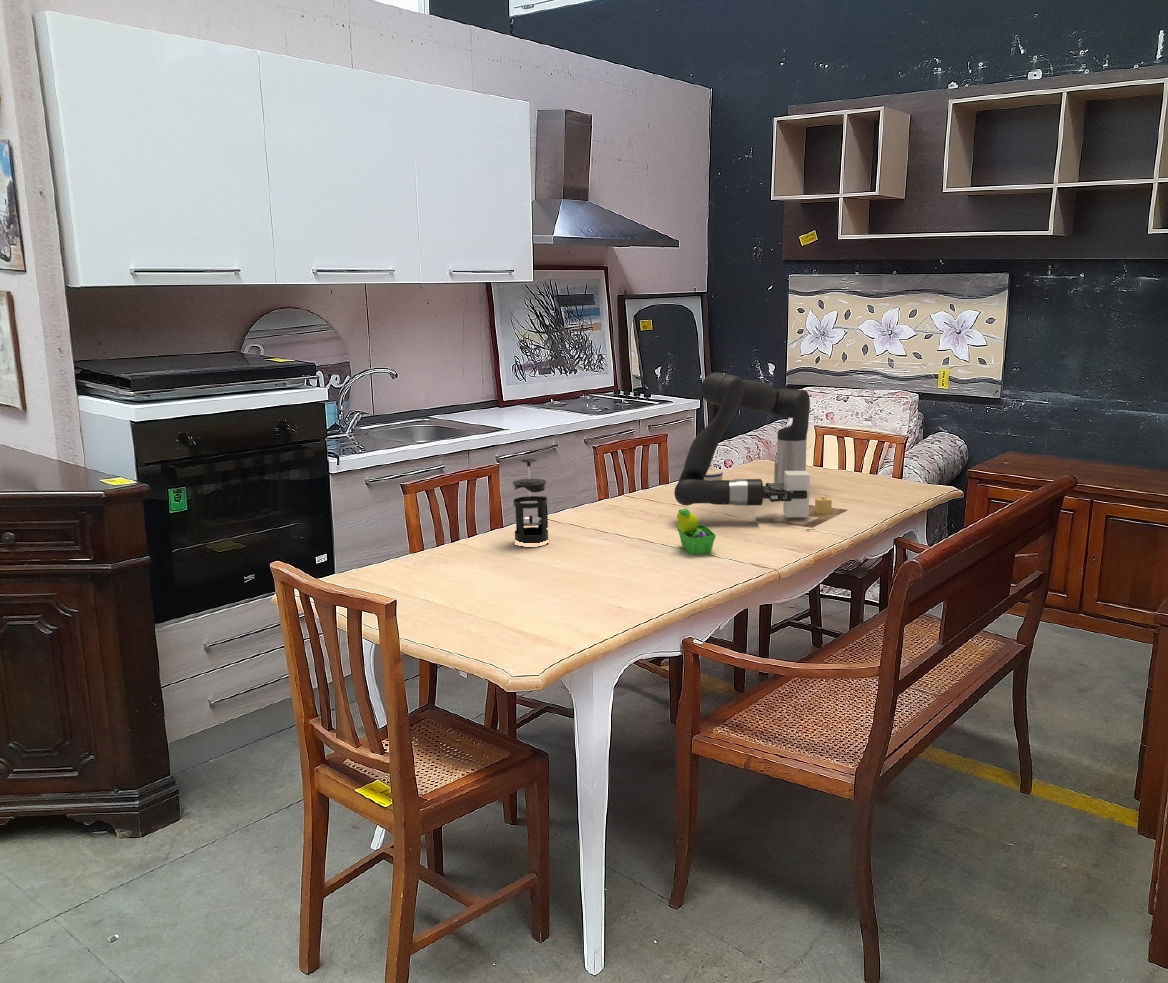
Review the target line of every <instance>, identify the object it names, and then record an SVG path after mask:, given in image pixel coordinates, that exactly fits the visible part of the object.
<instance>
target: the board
mask: <svg viewBox="0 0 1168 983" xmlns="http://www.w3.org/2000/svg"><path fill="white" fill-rule="evenodd" d="M847 511H848V509H843V508H837V507H836V508H835V507H831V514H817V513H816V511H815V504H814V505H813V504H809V517H786V516H785V514H783V515H781V516H779V517H776V518H774V519H772V520H770V521H769V523H776V524H781V525H789V526H797V527H802V528H803V527H804V528H808V530H814V531H816V530H815V529H813V528H816V527H817V526H819V525H821V524H823V523H826V522H827V521H829V520H831V519H832V518H835V517H837V516H839V515H841V514H844V513H845V512H847ZM809 528H810V529H809Z"/></svg>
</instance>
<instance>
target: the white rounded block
mask: <svg viewBox="0 0 1168 983" xmlns="http://www.w3.org/2000/svg"><path fill="white" fill-rule="evenodd" d="M810 477H811V475H810V473H809V472H808V471H807V470H806V471H784V488H785V489H786V490H793V491H807V498H806V499H793V500H792V501H783V510H782V511H783V515H785V516H786V517H809V505H810V486H811V484H810V481H811V478H810ZM786 497H787V494H786Z"/></svg>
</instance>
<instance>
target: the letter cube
mask: <svg viewBox="0 0 1168 983" xmlns="http://www.w3.org/2000/svg"><path fill="white" fill-rule="evenodd" d="M814 498H815V499H814V506H815V511H816V513H817V514H831V508H832V506H833V505H832V503H833V500H832V499H831V498H830V497H829V496H824V497H823V496H817V497H814Z"/></svg>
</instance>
